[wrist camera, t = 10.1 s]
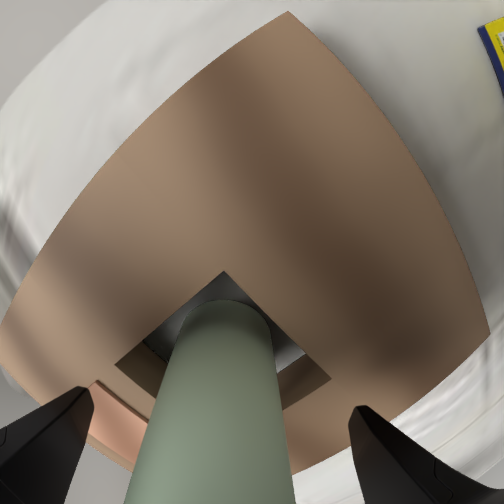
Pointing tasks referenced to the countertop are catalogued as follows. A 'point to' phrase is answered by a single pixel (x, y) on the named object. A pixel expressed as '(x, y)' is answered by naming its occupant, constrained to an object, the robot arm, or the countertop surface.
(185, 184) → the hole plate
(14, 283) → the countertop surface
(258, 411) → the peg
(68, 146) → the countertop surface
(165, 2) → the countertop surface
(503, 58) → the supplement box
